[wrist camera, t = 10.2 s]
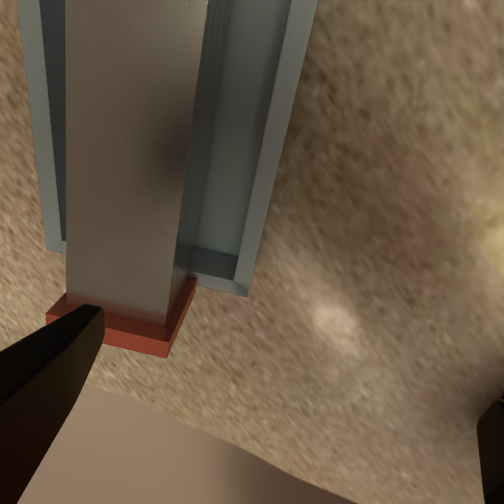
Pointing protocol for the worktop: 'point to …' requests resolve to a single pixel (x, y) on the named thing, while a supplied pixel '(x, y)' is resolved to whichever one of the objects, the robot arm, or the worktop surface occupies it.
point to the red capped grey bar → (137, 159)
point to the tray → (223, 133)
